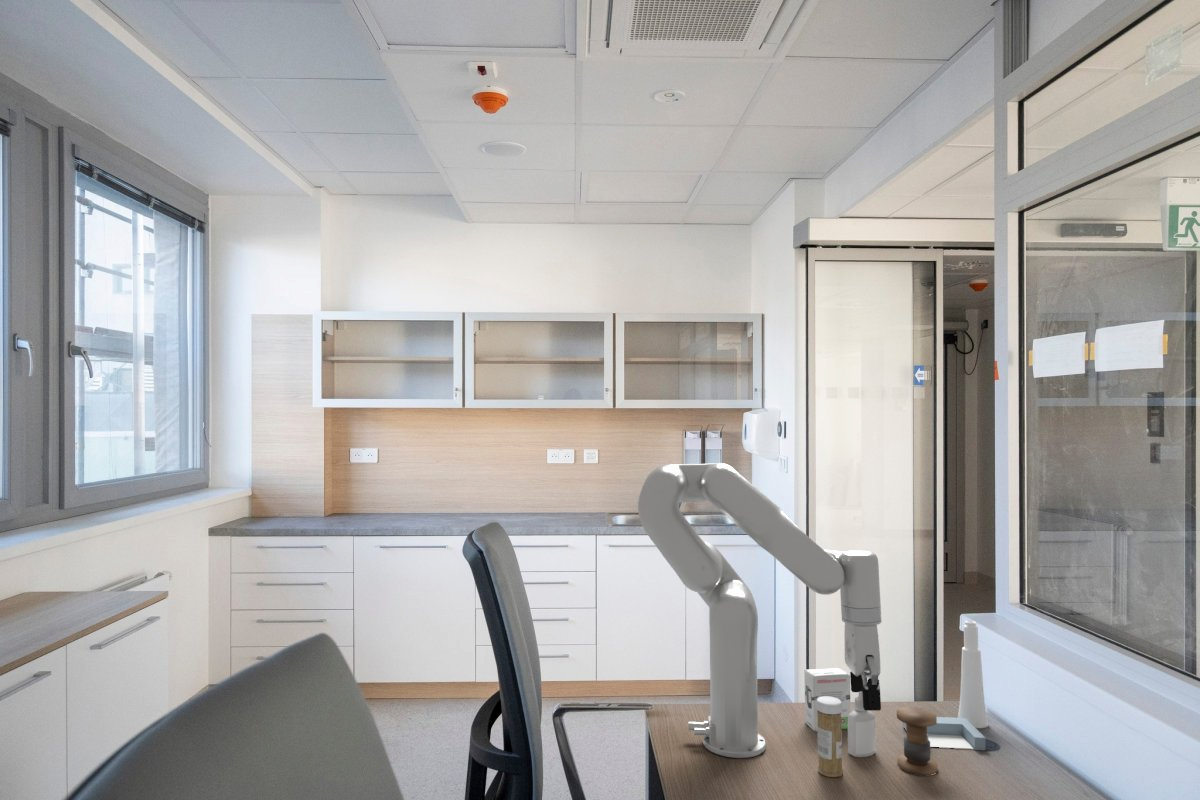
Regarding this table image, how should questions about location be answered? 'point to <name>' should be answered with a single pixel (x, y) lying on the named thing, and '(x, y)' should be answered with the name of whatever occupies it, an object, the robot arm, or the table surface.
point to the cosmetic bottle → (972, 679)
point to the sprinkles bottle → (829, 736)
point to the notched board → (954, 734)
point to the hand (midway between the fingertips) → (865, 700)
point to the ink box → (826, 693)
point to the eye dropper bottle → (861, 730)
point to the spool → (917, 741)
